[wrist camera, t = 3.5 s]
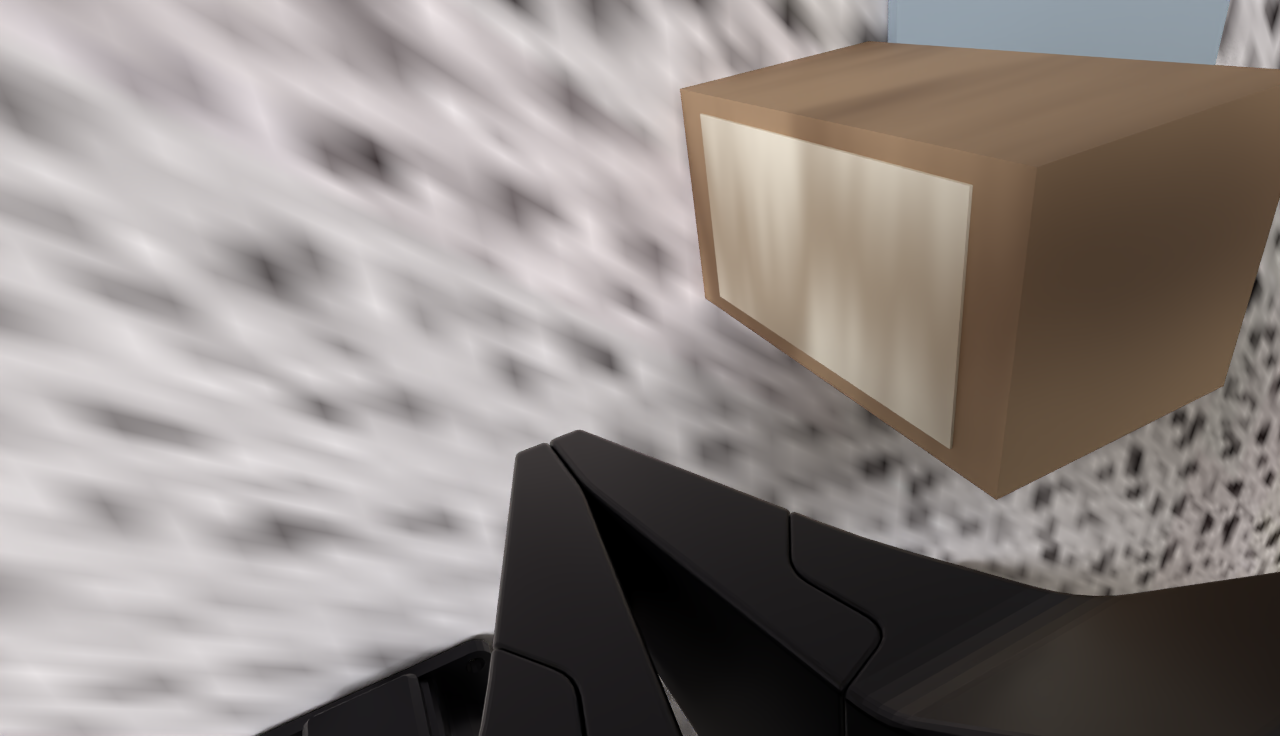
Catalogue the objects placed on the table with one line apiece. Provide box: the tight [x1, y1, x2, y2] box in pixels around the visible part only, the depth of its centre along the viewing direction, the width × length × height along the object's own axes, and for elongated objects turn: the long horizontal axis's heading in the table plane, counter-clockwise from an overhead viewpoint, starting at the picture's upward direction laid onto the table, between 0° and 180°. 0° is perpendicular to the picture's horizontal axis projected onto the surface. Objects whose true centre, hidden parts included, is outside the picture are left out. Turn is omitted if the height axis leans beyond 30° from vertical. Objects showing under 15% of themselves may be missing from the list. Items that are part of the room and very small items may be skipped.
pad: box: [888, 0, 1230, 65], centre depth 20 cm, size 16×12×1 cm
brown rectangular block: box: [680, 41, 1280, 500], centre depth 14 cm, size 5×5×9 cm
